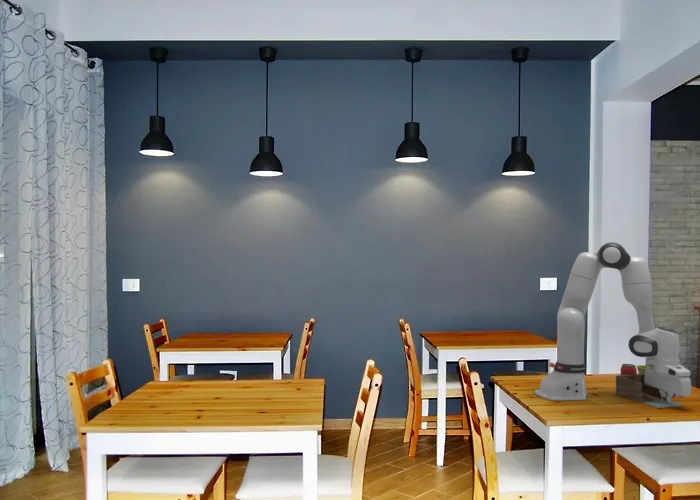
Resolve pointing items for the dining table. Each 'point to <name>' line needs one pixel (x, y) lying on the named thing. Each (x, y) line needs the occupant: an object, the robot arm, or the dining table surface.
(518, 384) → the dining table surface
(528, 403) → the dining table surface
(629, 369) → the beer can
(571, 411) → the dining table surface
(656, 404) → the panel
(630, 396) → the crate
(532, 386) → the dining table surface
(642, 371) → the plant pot
